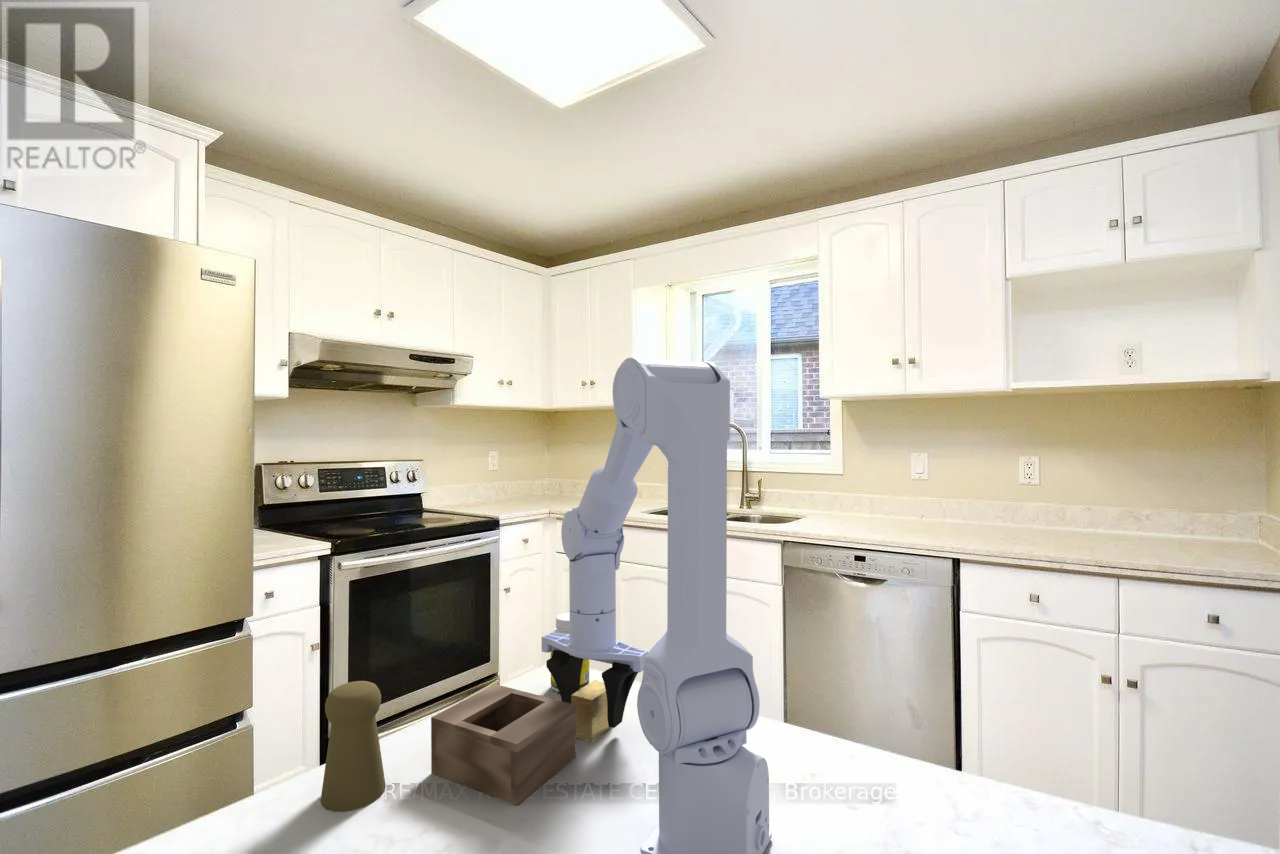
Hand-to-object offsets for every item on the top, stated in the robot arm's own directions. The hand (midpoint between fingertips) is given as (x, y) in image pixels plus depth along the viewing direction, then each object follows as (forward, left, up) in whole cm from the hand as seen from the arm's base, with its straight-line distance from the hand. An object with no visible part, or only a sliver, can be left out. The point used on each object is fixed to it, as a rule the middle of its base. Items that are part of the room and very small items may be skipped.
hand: (593, 718), depth 76 cm
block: (0, 0, -2) cm, 2 cm away
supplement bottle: (+10, -9, -2) cm, 14 cm away
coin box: (+4, +12, -1) cm, 12 cm away
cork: (+14, +23, -2) cm, 27 cm away
